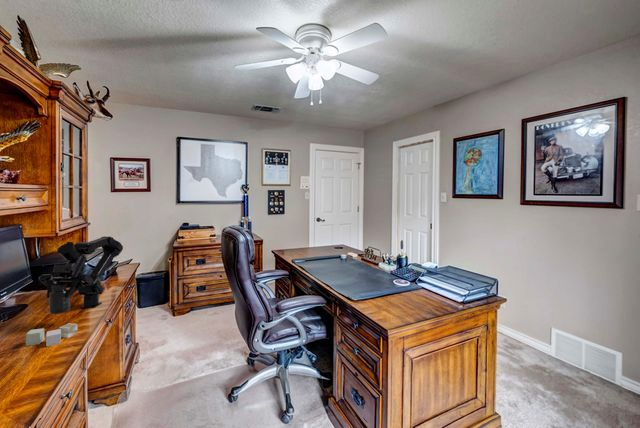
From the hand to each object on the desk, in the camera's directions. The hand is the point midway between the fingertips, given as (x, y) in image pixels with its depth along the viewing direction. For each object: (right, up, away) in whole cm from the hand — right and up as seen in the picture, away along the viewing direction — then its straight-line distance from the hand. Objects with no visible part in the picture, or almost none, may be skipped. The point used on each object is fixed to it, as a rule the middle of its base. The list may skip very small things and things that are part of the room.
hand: (57, 297), depth 126 cm
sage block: (+4, -13, -14) cm, 19 cm away
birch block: (+11, -13, -7) cm, 18 cm away
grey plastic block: (+10, -14, -13) cm, 21 cm away
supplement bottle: (0, -7, +2) cm, 7 cm away
